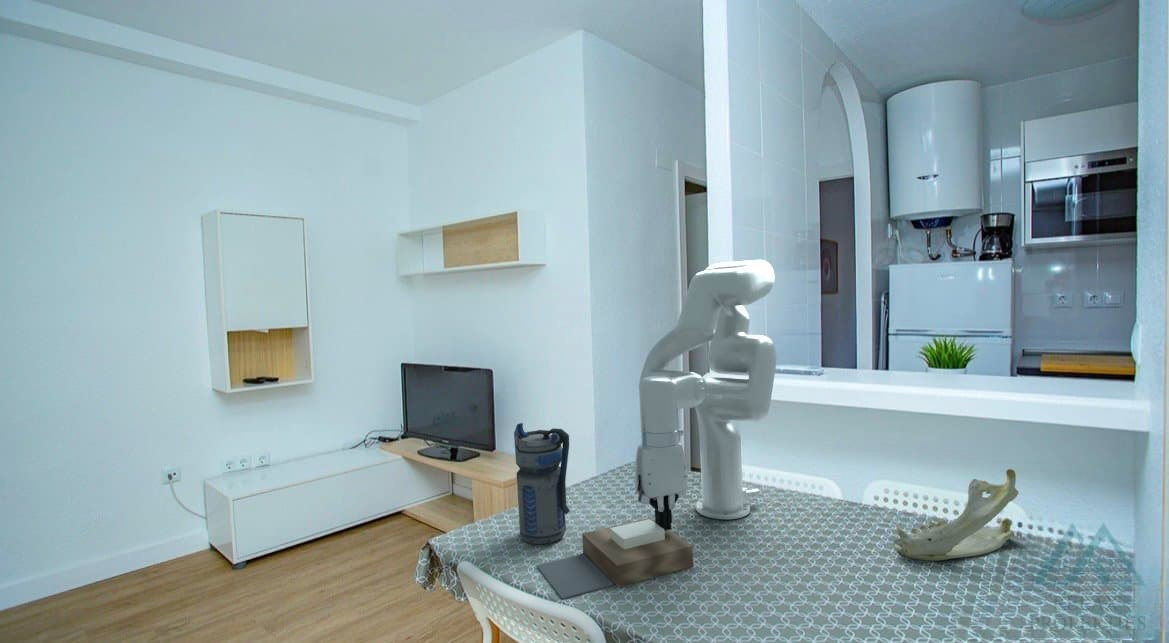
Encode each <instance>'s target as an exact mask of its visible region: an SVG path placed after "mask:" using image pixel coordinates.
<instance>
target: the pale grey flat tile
mask: <svg viewBox="0 0 1169 643" xmlns="http://www.w3.org/2000/svg"><path fill="white" fill-rule="evenodd" d="M642 520H643V519H642ZM638 521H639V520H638ZM629 523H630V522H629ZM625 524H626V523H625ZM620 525H621V524H620ZM616 526H617V525H616ZM612 527H613V526H612ZM610 538H611V539H612V540H614V541H615V542H616V543H617V544H618V545H619V546H621V547H622V548H623V549H628V548H632V547H636V546H640V545H644V544H648V543H652V542H657V541H661V540H665V530H664V529H663V528H662V527H660V526H659V525H657V524H656V523H654V522H653V521H651V520H650V519H648V520H643V521H639V522H635V523H630V524H626V525H621V526H617V527H613V528H610Z"/></svg>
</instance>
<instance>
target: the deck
mask: <svg viewBox="0 0 1169 643" xmlns="http://www.w3.org/2000/svg"><path fill="white" fill-rule="evenodd" d="M648 519H650V520H651V521H653V522H654V523H655V519H653V518H651V517H648V518H644V519H638V520H636V521H630V522H627V523H622V524H618V525H613V526H609V527H605V528H600V529H596V530H593V531H592V530H591V531H588V532H583V533H581V534H582V535H581V538H582V554H584V555H585V556H586V555H587V556H586V557H587V558H588V559H589V560H590V561H591V562H592V563H593V564H594V565H595V566H596V567H597V568H598V569H599V570H600V571H601V572H602V573H603V574H604V575H605V576H606V577H607V578H608V579H609V580H610V581H612V582H613V583H614V585H615V586H616V587H617V588H621V587H625V586H628V585H632V584H635V583H638V582H642V581H646V580H651V579H654V578H657V577H661V576H665V575H667V574H671V573H675V572H678V570H679V571H682V570H685V569H688V568H692V567H694V559H693V557H694V556H693V554H694V553H693V545H692V544H690V543H689V542H688V541H685V540H684V539H683V538H681V537H680V536H678V535H677V534H675V533H674V532H672V531H670V530H667V531H665V540H661V541H657V542H652V543H648V544H644V545H640V546H636V547H632V548H628V549H623V548H622V547H621V546H619V545H618V544H617V543H616V542H615V541H614V540H612V539H611V538H610V528H613V527H617V526H621V525H626V524H630V523H635V522H639V521H643V520H648ZM674 571H675V572H674Z"/></svg>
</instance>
